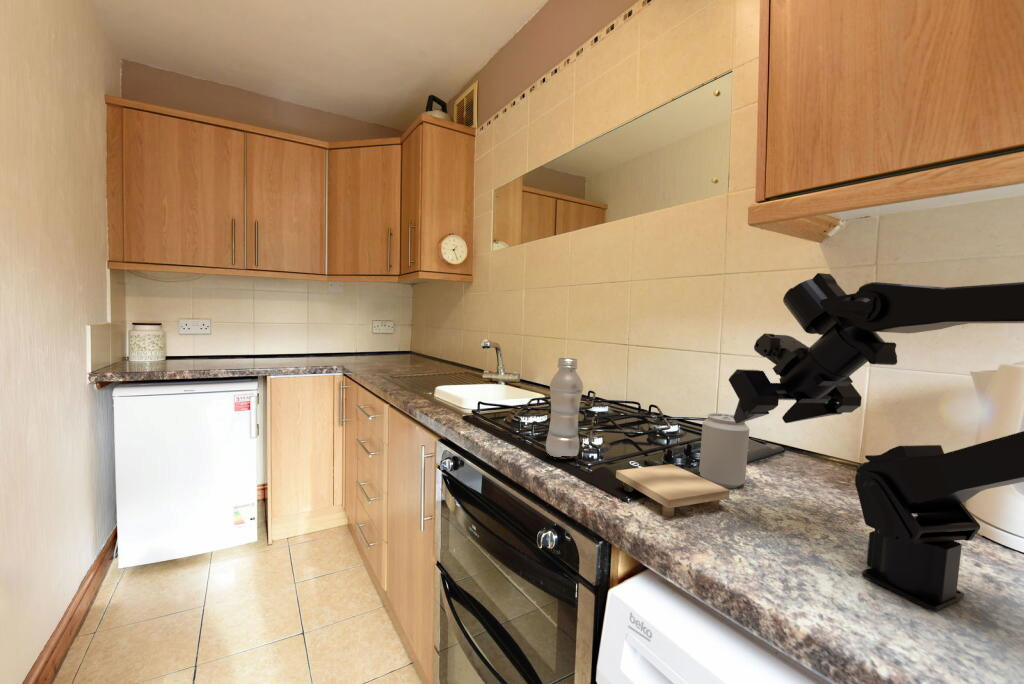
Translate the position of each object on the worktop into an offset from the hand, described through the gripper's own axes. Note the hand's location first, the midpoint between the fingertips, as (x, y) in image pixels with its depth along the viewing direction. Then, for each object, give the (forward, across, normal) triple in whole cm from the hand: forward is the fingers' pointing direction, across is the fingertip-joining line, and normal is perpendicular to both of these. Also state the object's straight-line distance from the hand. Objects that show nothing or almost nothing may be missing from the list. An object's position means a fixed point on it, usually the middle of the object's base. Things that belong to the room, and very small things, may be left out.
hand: (760, 420), depth 69 cm
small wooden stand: (+11, +14, +8) cm, 19 cm away
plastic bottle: (+25, +25, -6) cm, 36 cm away
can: (+15, 0, +4) cm, 15 cm away
